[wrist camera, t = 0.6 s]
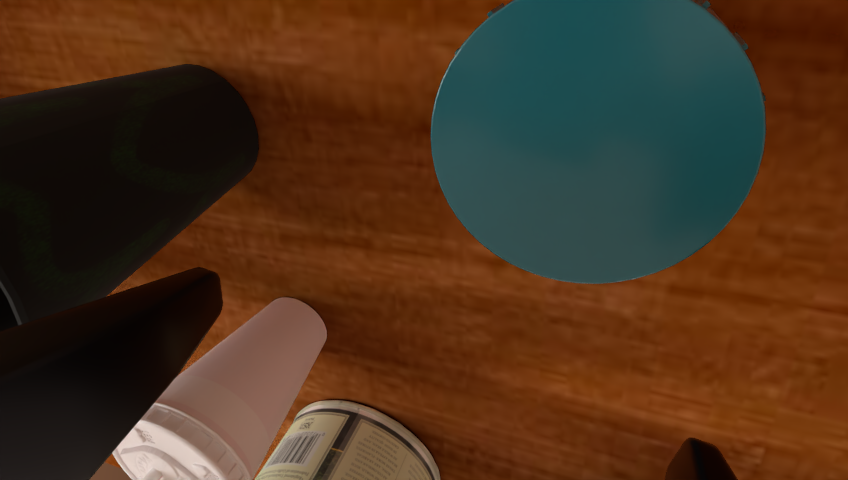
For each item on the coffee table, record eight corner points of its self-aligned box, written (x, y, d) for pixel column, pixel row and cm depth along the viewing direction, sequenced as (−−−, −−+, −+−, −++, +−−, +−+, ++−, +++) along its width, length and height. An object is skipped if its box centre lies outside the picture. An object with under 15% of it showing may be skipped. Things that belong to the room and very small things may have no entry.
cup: (213, 6, 21) (-160, 85, 11) (309, 176, 23) (76, 359, 14) (107, 79, 24) (-240, 186, 15) (200, 218, 27) (-43, 385, 17)
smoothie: (246, 259, 27) (-25, 497, 16) (356, 304, 26) (148, 592, 15) (246, 341, 31) (25, 582, 20) (342, 384, 30) (166, 663, 19)
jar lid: (836, 59, 10) (867, 82, 8) (631, 290, 14) (630, 331, 12) (526, -93, 10) (509, -94, 9) (413, 173, 14) (389, 200, 13)
